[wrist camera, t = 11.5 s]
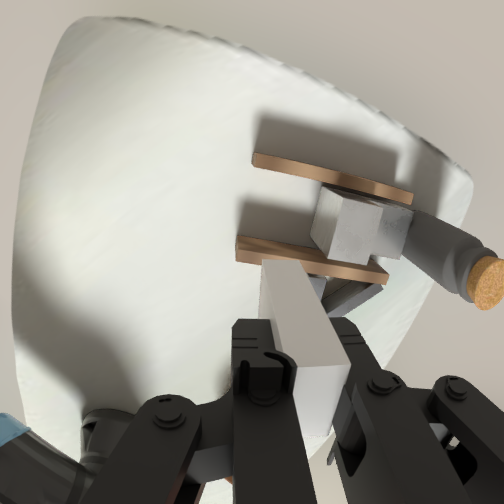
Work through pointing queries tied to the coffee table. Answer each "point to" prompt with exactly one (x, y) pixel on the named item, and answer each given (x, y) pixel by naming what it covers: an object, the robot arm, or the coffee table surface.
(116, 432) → the robot arm
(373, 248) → the grey stepped block
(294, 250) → the parallel wooden rails
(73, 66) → the coffee table surface
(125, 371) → the coffee table surface
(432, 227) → the bottle
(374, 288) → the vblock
